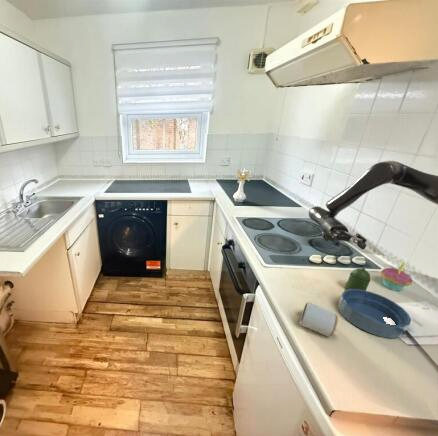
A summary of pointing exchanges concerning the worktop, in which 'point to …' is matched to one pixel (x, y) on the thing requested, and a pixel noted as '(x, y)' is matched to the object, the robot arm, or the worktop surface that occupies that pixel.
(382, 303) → the bowl
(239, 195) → the flower vase
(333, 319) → the ceramic mug
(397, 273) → the cupcake
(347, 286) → the green rounded cylinder
